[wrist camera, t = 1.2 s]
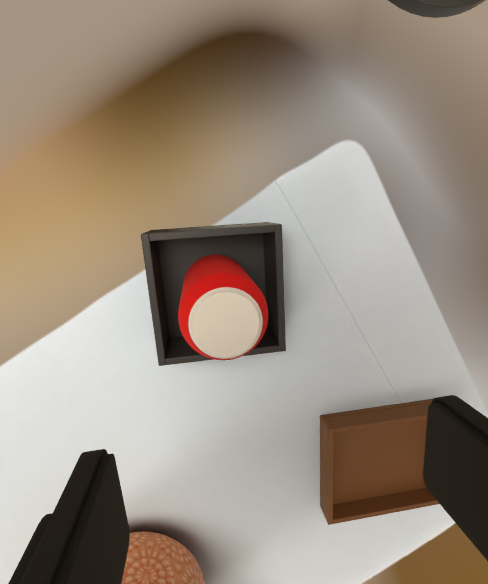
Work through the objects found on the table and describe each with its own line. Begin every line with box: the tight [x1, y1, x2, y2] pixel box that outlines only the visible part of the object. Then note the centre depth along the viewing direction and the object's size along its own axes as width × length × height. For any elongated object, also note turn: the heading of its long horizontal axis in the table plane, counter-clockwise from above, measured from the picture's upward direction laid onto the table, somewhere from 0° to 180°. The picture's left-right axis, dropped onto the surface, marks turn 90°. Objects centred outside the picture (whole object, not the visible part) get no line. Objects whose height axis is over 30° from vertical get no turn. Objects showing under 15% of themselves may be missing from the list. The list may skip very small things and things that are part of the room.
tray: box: [320, 399, 440, 525], centre depth 39 cm, size 15×13×3 cm
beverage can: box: [178, 254, 268, 360], centre depth 26 cm, size 6×6×12 cm
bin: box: [141, 222, 286, 366], centre depth 30 cm, size 11×11×6 cm
